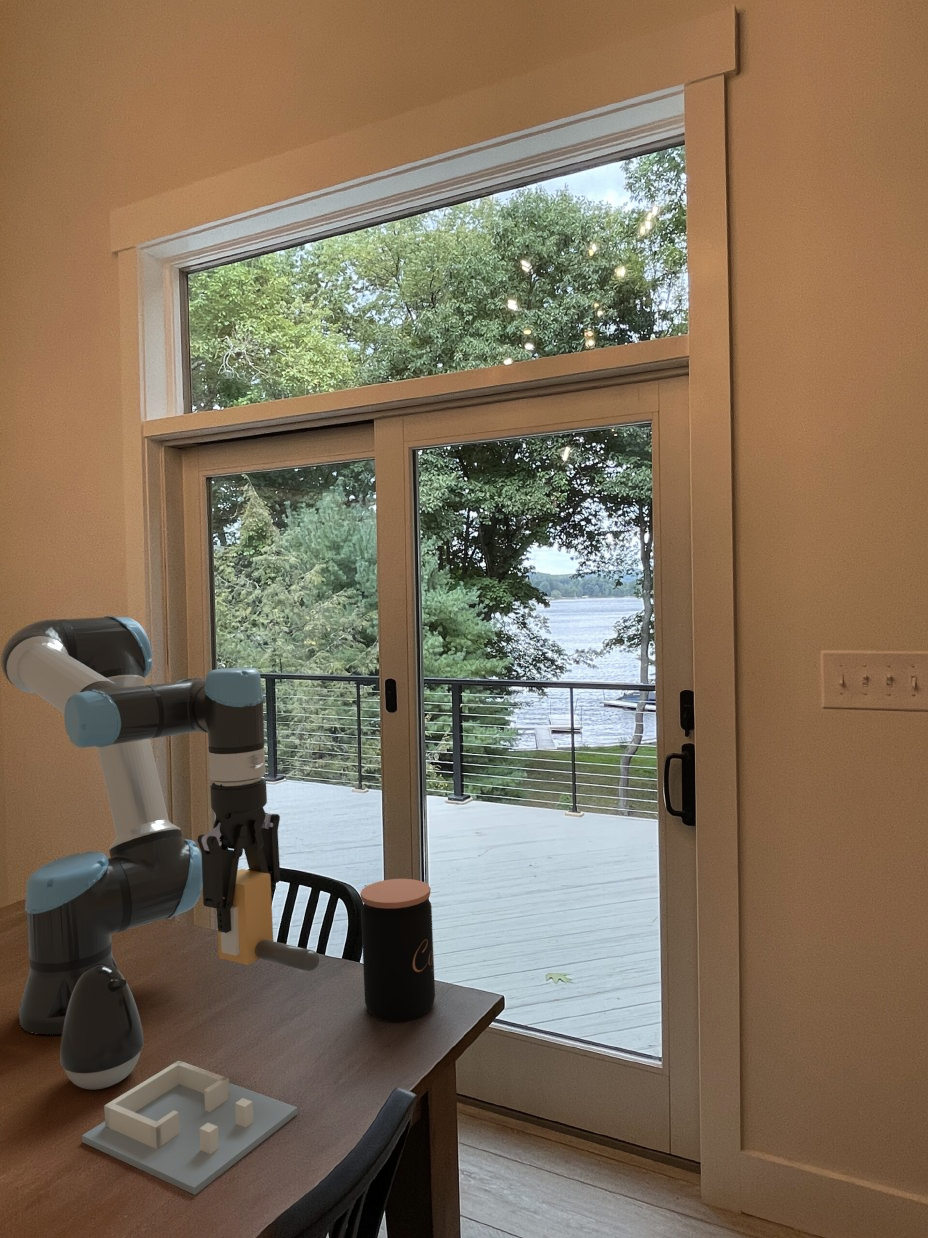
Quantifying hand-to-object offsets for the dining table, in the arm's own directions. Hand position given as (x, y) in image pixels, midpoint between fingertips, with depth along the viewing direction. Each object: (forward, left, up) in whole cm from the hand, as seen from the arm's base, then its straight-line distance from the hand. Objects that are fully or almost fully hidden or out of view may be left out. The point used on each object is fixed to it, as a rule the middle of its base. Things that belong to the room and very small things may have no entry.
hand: (245, 945), depth 120 cm
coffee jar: (+12, +19, -15) cm, 27 cm away
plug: (+5, 0, -1) cm, 5 cm away
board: (+7, -17, -15) cm, 23 cm away
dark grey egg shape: (-12, -15, -15) cm, 24 cm away
